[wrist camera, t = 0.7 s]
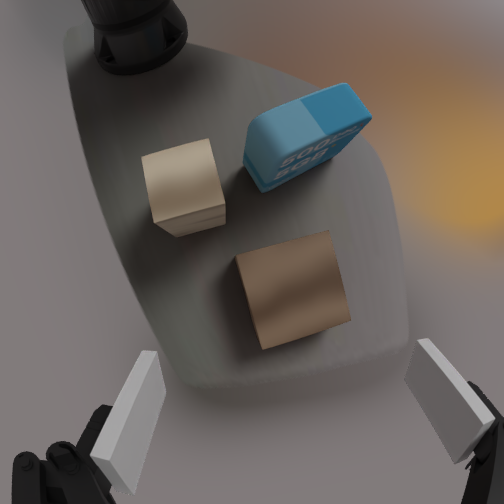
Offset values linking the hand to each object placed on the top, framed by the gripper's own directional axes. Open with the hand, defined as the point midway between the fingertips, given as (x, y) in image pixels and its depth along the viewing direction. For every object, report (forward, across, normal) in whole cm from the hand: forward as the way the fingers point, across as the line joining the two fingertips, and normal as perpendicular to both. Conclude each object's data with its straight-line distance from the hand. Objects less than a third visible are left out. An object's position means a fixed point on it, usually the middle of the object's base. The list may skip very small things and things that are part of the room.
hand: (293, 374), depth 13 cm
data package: (+26, +3, +10) cm, 29 cm away
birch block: (+23, -8, +5) cm, 25 cm away
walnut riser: (+21, +2, -4) cm, 21 cm away
